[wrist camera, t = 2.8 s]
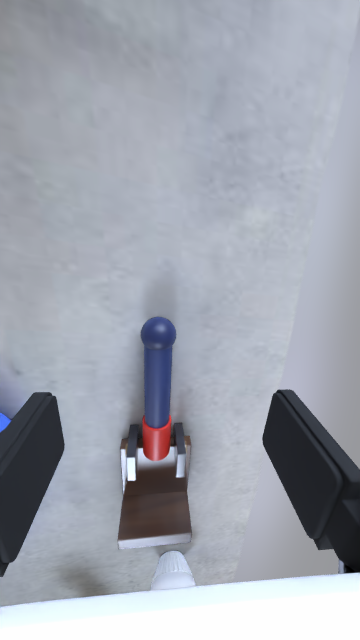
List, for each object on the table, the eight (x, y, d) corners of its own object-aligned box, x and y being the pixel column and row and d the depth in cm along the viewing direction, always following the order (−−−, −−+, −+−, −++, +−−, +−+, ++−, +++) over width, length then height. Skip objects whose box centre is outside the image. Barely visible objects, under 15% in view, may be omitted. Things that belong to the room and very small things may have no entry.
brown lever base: (121, 425, 22) (111, 475, 18) (191, 422, 23) (199, 470, 18) (124, 493, 26) (118, 549, 21) (185, 488, 27) (190, 542, 22)
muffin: (160, 573, 33) (161, 656, 27) (142, 554, 31) (138, 640, 24) (199, 559, 33) (210, 640, 26) (183, 538, 30) (191, 621, 24)
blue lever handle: (141, 311, 18) (139, 324, 15) (175, 312, 18) (178, 325, 16) (143, 437, 23) (141, 462, 20) (169, 436, 23) (171, 461, 21)
